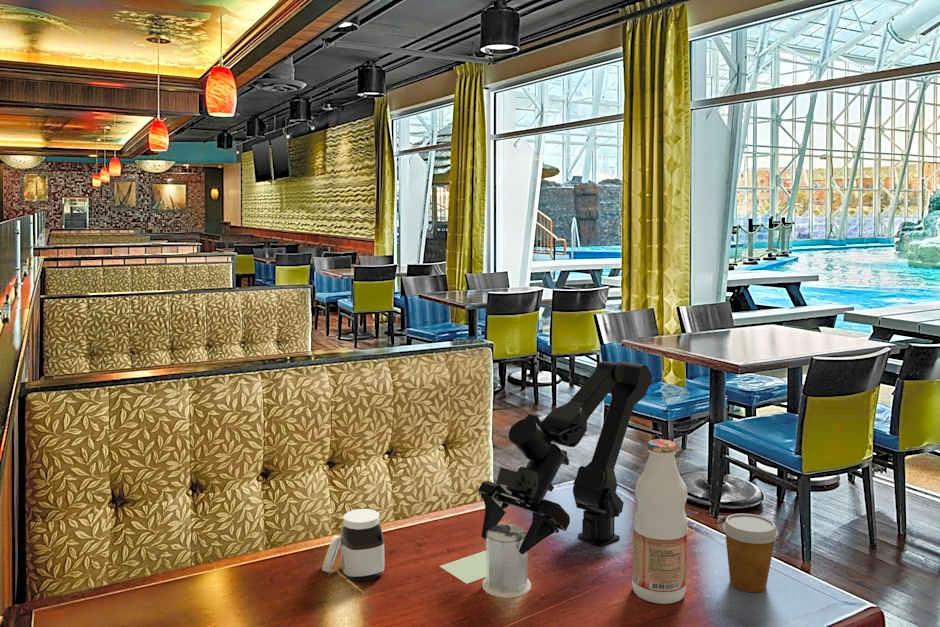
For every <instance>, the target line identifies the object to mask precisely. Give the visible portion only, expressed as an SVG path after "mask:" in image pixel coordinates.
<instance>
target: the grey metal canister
mask: <svg viewBox="0 0 940 627" xmlns="http://www.w3.org/2000/svg"><path fill="white" fill-rule="evenodd" d="M526 532H527V531H526V530H525V528H523V527H521V526H519V525H516V524H509V523H508V524H507V523H504V524H497V525H496V526H493V527H491V528H490V529H489V530H488V532H486V539H485V541H486V542H485V543H486V544H485V545H486V550H485V551H486V574H487V584H488V587H489V589H491V590H494V591H497V592H500V593H515V592H520V591H521V590H522V589H524V588H525V587H526V586H527V578H528V562H527V561H528V551H527V552H526V553H524V554H521V553H520V552H519V549H520V547H521V544H522V542H523V540H524V538H525V536H526V534H527V533H526Z"/></svg>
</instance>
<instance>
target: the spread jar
mask: <svg viewBox="0 0 940 627" xmlns="http://www.w3.org/2000/svg"><path fill="white" fill-rule="evenodd" d="M342 517H343V519H342V520H343V522H342V523H343V525H342V526H341V530H340V534H339V535H340V536H337V535H333V537H332V539H331V542H330V544H329V547H328V549H327V551H326V555H325V558H324V559H323V560H324V561H323V564H322V569H321V570H322V571H323V572H326V573H330V571H331V569H332V568H333V565H334V562H335V559H336V557H337V554H338V550H339V548H340V561H341V563H340V564H341V568H342V569H341V570H342V574H343V576H344V578H346V579H347V580H350V581H354V582H366V581H370V580H371V581H372V580H374V579H376V578H378V577H380V576H381V575H382V574H383V573H384V571H385V561H386V560H385V541H384V540H385V539H384V534H383V529H382V526H381V525H380V513H379V512H378V511H376V510H374V509H370V508H358V509H357V508H356V509H352V510H349V511H347V512H346V513H344V514H343V516H342Z"/></svg>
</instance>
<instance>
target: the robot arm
mask: <svg viewBox="0 0 940 627" xmlns="http://www.w3.org/2000/svg"><path fill="white" fill-rule="evenodd" d="M649 369H650V368H649V367H648V366H647V365H646V364H639V363H633V362H627V361H619V362H611V361H606V360H605V361H599V362H598V363H597V365H596V366H595V370H594V371H593V372H592V374H591V375H590V376H589V378H587V380H586V381H585V382H584V383H583V385H582V386H581V387H580V388H579V390H578V391H577V392H576V393H575V394H574V395H573V397H572V398H571V399H570V400H569V401H567V403H564V404H562V405H560V406H557V407H555V408H554V409H553V410H552V411H551V412H549V414H547V415H546V416H545V417H544V419H542V420H540V418H539V416H538V415H535V414H532V413H528V414H527V416H526V417H525V418H522V419H520V420H518V421H516V422H515V423H514V424H512V425H511V427H510V428H509V431H508V438H509V440H510V442H511V443H512V444H513V445H514V447H515V448H516V449H517V450H518V451H519V452H520V453H521V454H522V455H523V457H524V458H525V459H527V460H528V462H527V463H526V465H525V466H522V465H521V466H519V468H518V469H517V470H516V471H515V470H512V469H508V468H505V467H501V466H500V467H499V470H498V474H497V477H496V482H492V481H489V480H484V481H483V482H481V484H480V485H479V487H478V489H477V491H476V492H477V493H478V494H479V495H480V498H481V500H483V503H484V517H483V523H482V524H483V525H482V530H481V536H480V537H481V538H482V539H483V540H486V532H488V530H489V529H490V528H491V527H493V526H496V525H499V523H500V521H501V520H502V519H503V518H504V515H506V513H507V511H505V509H507V508H508V507H509V506H511V507H514V508H517V509H520V510H523V511H526V512H529V513H532V518H531V519H532V520H531V525H530V527H529V528H528V529H527V530H528V531H526V532H527V533H526V536H525V538H524V540H523V542H522V544H521V547H520V549H519V552H520V553H521V554H524V553H526V552H527V553H528V551H530V550H531V549H532V548H533V547H535V546H537V544H539V543H540V542H541V541H543V540H545V539H546V538H548V537H549V536H552V535H553V534H554V533H556V534H559V532H560V531H562V532H563V531H564V532H566V531H567V530H568V528H569V525H570V523H571V518H570V517H571V516H570V515H569V514H568V512H567V511H566V510H565V509H564V508H563V506H561V504H560V503H557V502H554V501H551V500H549V499H545V497H546V495H547V493H548V492H553V490H554V488H555V487H554V485H553V481H554V479H555V478H556V475H557V473H558V472H559V469H560V468H561V466H562V465H564V466H569V464H570V460H569V457H568V451H567V450H565V449H561V448H560V447H559V445H560V446H564V447H567V448H575V447H577V446H578V445H579V444H580V442H581V440H582V439H583V437H584V436H585V434H586V432H587V430H588V420H589V418H590V417H591V415H592V414H593V413H594V411H595V410H596V409H597V408H598V407H599V405H600V404H601V403H602V401H603V400H604V399H605V398H606V396H608V394H609V393H610V395H611V399H610V403H609V406H608V408H607V412H606V415H605V418H604V421H603V424H602V427H601V430H600V434H599V437H598V440H597V443H596V446H595V449H594V453H593V454H592V458H591V461H590V462H589V463H588V464H587V465H584V466H583V465H580V467H578V470H577V472H576V473H577V474H576V476H575V479H574V481H573V487H572V494H573V498H574V501H575V502H574V503H575V506H576V508H577V509H581V510H583V512H582V513H583V518H582V519H581V520H582V521H581V522H582V524H581V525H582V527H581V532H580V533H578V534H577V537H578V538H580V539H582V540H584V541H586V542H588V543H590V544H593V545H594V546H597V547H602V546H604V545H607V544H610V543H613V542H615V541H618V540H620V539H621V538H620V537H621V536H620V535H617V534H616V533H615V518H619V517H620V514H622V512H623V509H624V501H623V500H622V499H621V497H620V495H618V493H617V488H618V481H617V477H616V473H615V468H616V465H617V461H618V458H619V454H620V451H621V449H622V446H623V442H624V440H625V435H626V432H627V430H628V426H629V424H630V420H631V417H632V413H633V409H634V408H635V406H636V405H637V404H638V403H639V402H640V401H641V400H642V399H643V398H645V397H646V395H647V392H648V390H649V387H650V386H651V384H652V380H653V375H652V371H650V370H649ZM502 485H503V486H506V487H505V488H506V490H505V489H504V488H503V486H502ZM507 491H508V492H510V493H511V494H510V493H508V492H507Z"/></svg>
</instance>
